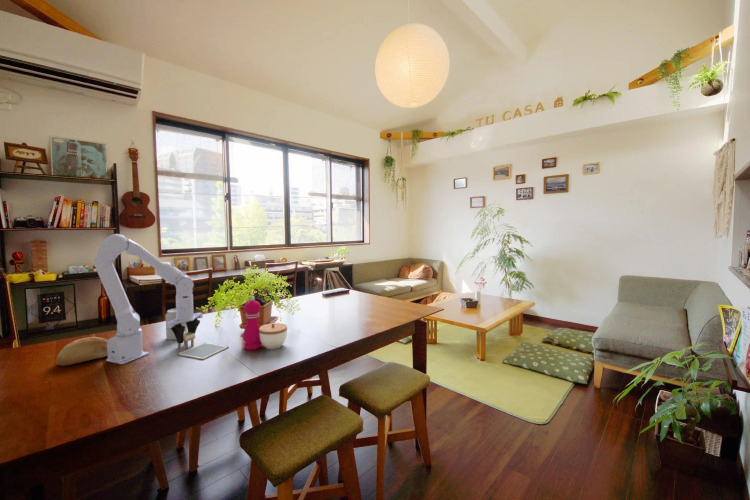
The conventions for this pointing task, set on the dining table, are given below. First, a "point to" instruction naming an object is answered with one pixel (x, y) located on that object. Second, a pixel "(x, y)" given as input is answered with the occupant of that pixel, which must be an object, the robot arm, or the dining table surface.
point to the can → (169, 317)
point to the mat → (203, 351)
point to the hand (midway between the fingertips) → (185, 340)
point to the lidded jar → (273, 335)
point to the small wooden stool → (187, 339)
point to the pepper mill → (252, 325)
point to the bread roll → (82, 351)
